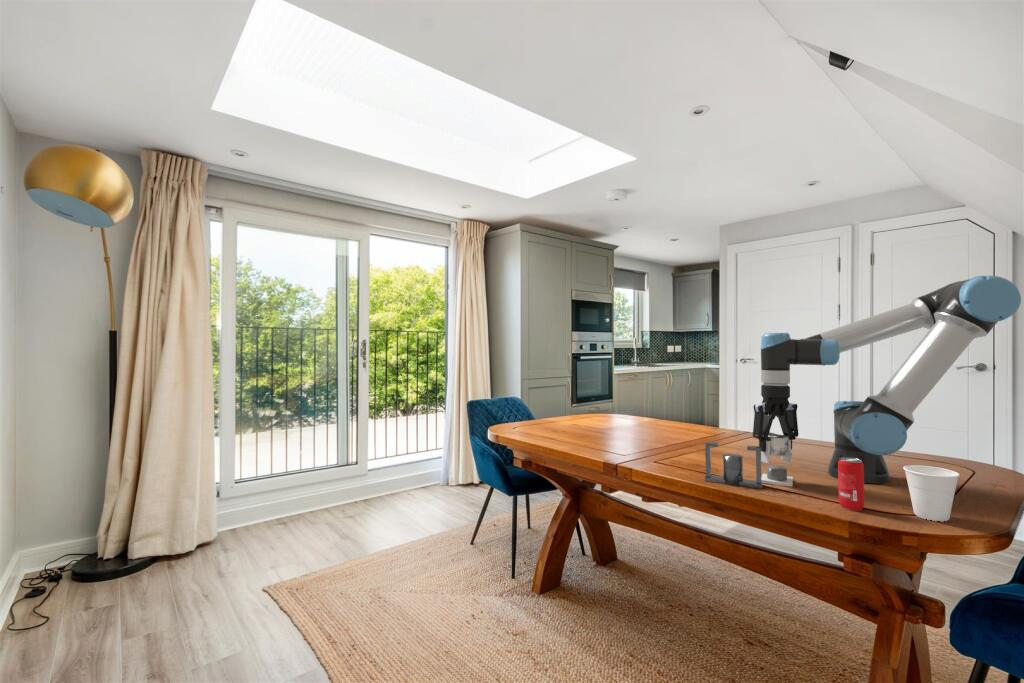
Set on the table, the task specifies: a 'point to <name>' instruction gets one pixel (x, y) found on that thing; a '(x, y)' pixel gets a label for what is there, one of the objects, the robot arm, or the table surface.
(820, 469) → the table surface
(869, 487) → the table surface
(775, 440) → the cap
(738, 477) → the gray u-shaped frame
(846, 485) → the beverage can
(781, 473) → the stand
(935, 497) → the cup
